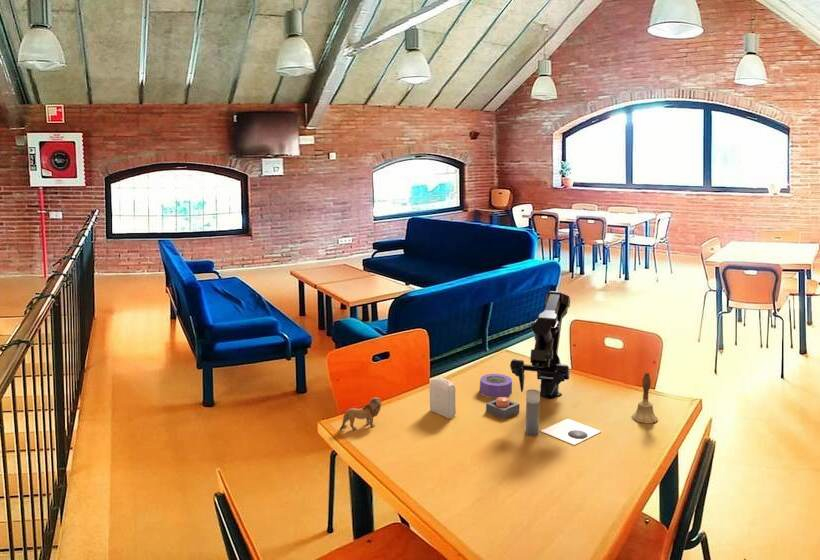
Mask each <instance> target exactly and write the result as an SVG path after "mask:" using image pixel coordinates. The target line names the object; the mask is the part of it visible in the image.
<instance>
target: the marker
mask: <svg viewBox="0 0 820 560" xmlns="http://www.w3.org/2000/svg"><path fill="white" fill-rule="evenodd" d="M525 394H526V395H525V397H526V398H525V402H526V405H525V406H526V407H525V409H526V410H525V435H527V436H529V437H538V436H539V431H540V430H539V427H540V423H539V422H540V420H539V419H540V401H541V395H540V390H538V389H528V390H526V392H525Z"/></svg>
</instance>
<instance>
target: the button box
mask: <svg viewBox="0 0 820 560" xmlns="http://www.w3.org/2000/svg"><path fill="white" fill-rule="evenodd" d="M485 412H486V413H488V414H491V415H493V416H495V417H498V418H500V419H503V420H504V419H507V418H510V417H511V416H514V415H516V414H519V413H520V403H518V402H515V401H512V400H510V406H508V407H506V408H501V407H499V406H496V399H494V400H492V401H489V402H486V403H485Z"/></svg>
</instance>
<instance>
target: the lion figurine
mask: <svg viewBox="0 0 820 560" xmlns="http://www.w3.org/2000/svg"><path fill="white" fill-rule="evenodd" d="M381 407H382V402H381V398H379V397H377V396H376V397H372V398H370V399H369V402H368V403H367V404H366V405H365V406H363V407H361V408H356V407H351V408H349V409H347V410H346V411H345V413H344V415H343V417H342V418H343V419H342V424H341V426H340V428H339V430H342V429H343V428H347V427H348V425H347V424H346V423H347V422H350V423H349V427H350V428H351V429H352V430H353V431H356V430H357V427H354V423H355V421H356V420H355V419H359V420H365V419H366V421H365V423H366V424H367V425H369V426H370V427H371V428H374V427H375V425H374V424H373V423H374V418H375V417H378V415H379V413H380V411H381Z"/></svg>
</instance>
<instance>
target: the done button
mask: <svg viewBox="0 0 820 560" xmlns="http://www.w3.org/2000/svg"><path fill="white" fill-rule="evenodd" d="M495 400H496V406H499V407H501V408H506V407H508V406H510V401H511V399H510V398H508V397H498V398H495Z"/></svg>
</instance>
